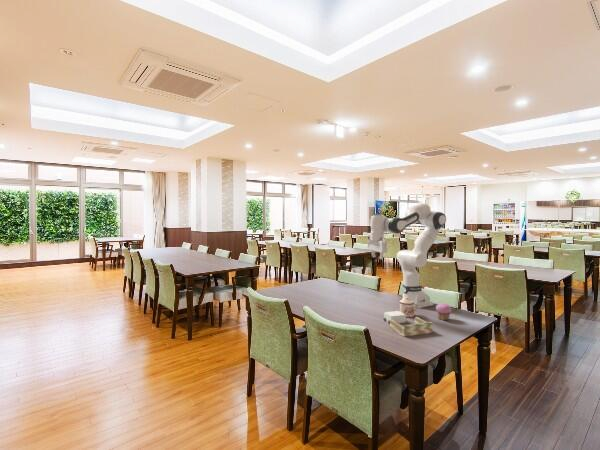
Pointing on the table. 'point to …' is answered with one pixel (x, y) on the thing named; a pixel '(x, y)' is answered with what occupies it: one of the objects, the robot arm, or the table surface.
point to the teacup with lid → (407, 307)
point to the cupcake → (443, 311)
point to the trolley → (394, 317)
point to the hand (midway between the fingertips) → (377, 258)
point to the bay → (412, 327)
